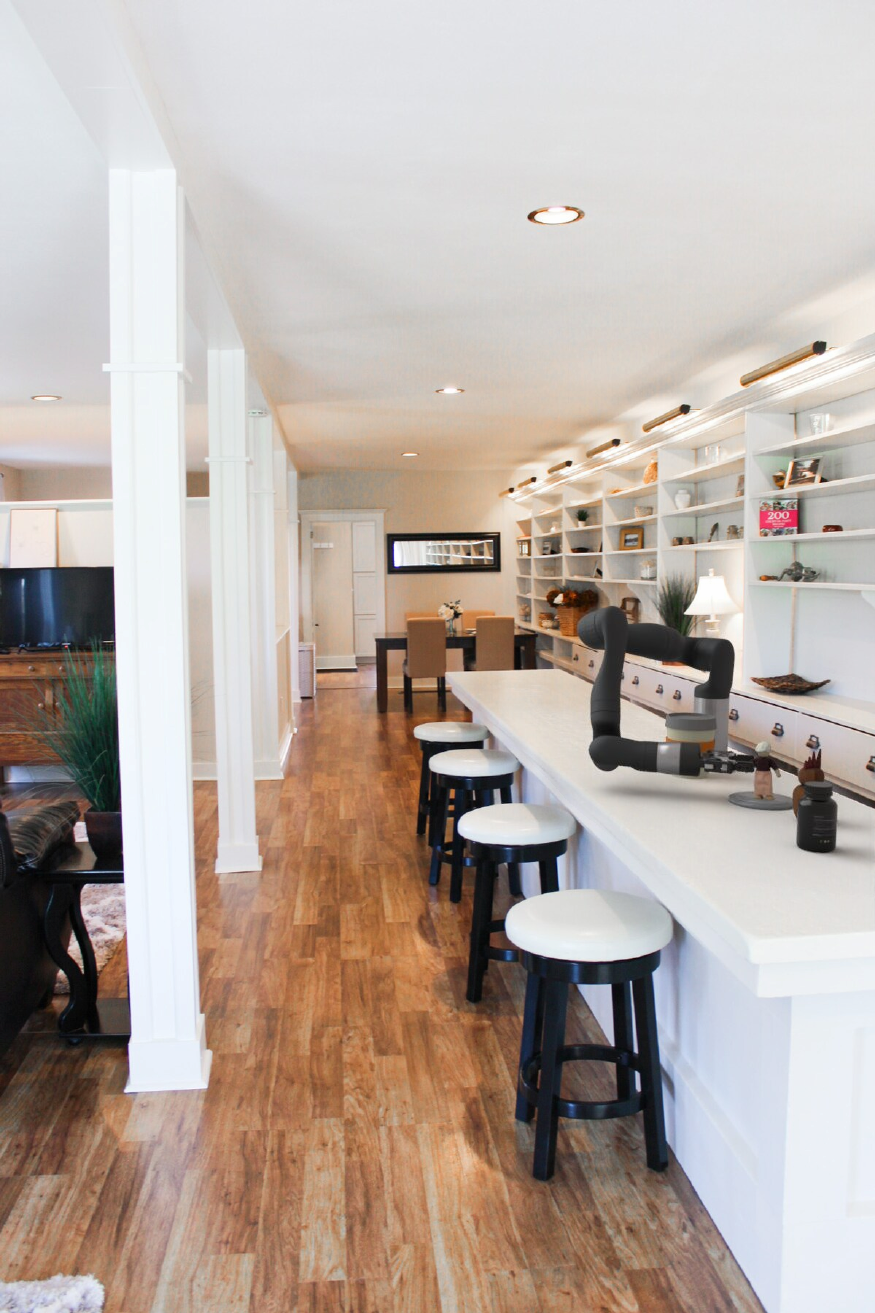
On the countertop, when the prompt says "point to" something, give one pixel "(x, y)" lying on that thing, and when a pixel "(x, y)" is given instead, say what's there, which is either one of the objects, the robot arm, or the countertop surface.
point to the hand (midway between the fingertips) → (754, 763)
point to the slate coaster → (761, 801)
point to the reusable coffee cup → (692, 732)
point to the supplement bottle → (817, 818)
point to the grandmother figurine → (764, 772)
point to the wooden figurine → (807, 777)
